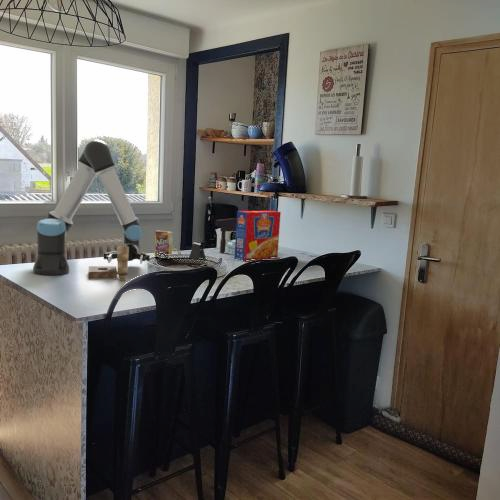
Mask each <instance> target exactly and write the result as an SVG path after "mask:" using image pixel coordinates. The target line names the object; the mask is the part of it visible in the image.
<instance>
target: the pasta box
mask: <svg viewBox="0 0 500 500" xmlns="http://www.w3.org/2000/svg"><path fill="white" fill-rule="evenodd" d="M281 213H282V212H281V211H276V210H237V211H236V218H237V224H236V231H235V240H236V241H235V252H234V258H233V259H234V260H235V259H238V260H237V261H239V260H243V261H246V260H251V259H255V261H259V260H258V259H264V260H271V259H270V258H271V257H277V258H278V255H279V253H278V252H279V240H280V229H281V228H280V227H281V226H280V225H281ZM243 261H242V262H243ZM246 262H247V261H246Z"/></svg>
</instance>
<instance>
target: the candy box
mask: <svg viewBox="0 0 500 500" xmlns="http://www.w3.org/2000/svg"><path fill="white" fill-rule="evenodd" d="M154 234H155V235H154V257H155V256H156V254H157V251H159V250H160V251H161V252H163V253H165V254H172V255H173V236H174V235H173V234H174V232H173V231H167V230H155V233H154Z"/></svg>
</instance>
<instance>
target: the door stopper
mask: <svg viewBox="0 0 500 500" xmlns="http://www.w3.org/2000/svg"><path fill="white" fill-rule="evenodd" d="M189 258H192V259H194V260H198V259H199V258H203V259H206V254H205V246H204V243H200V242H196V241H195V242H192V245H191V250H190V254H189V257H188V259H189ZM206 260H207V259H206Z"/></svg>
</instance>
